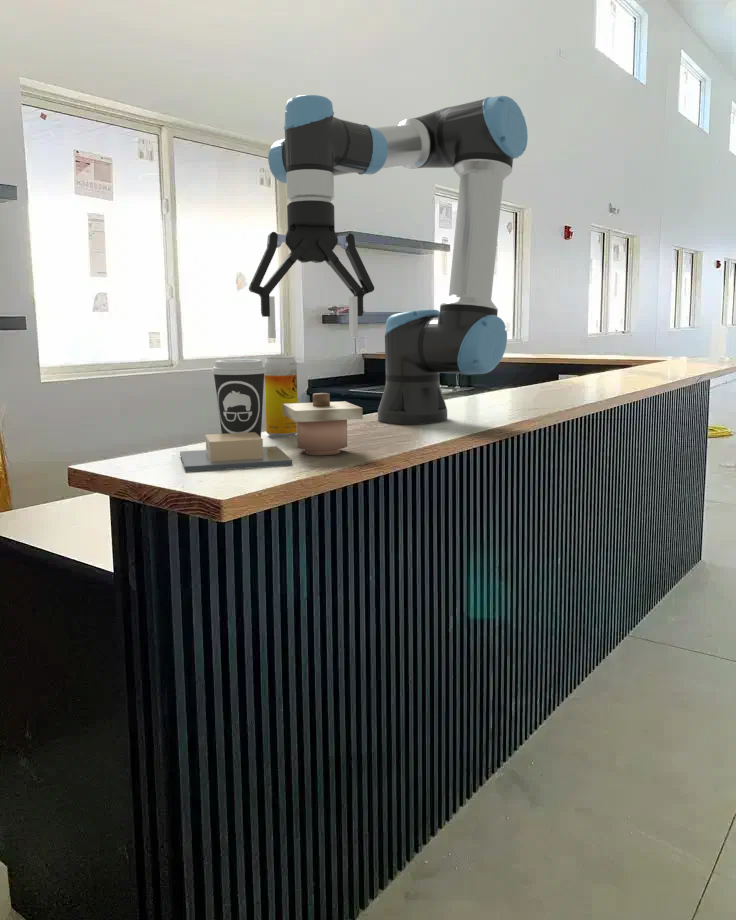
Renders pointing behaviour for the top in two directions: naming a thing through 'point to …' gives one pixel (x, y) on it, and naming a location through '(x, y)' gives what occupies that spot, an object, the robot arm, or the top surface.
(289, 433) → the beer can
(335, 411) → the lid
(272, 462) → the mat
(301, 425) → the bowl
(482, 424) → the top surface
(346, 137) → the robot arm
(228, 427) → the coffee cup
